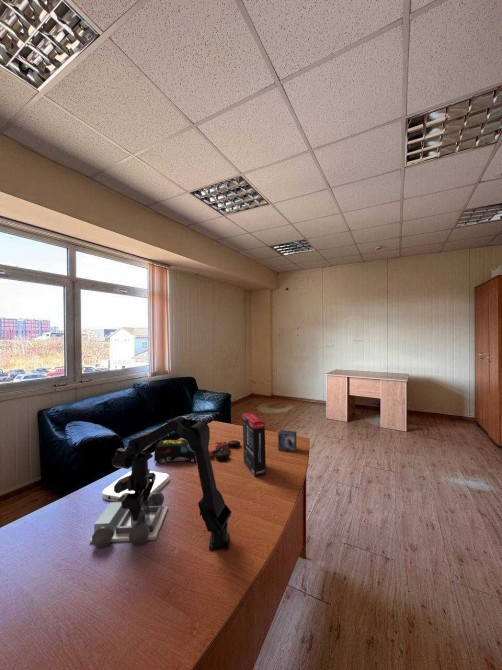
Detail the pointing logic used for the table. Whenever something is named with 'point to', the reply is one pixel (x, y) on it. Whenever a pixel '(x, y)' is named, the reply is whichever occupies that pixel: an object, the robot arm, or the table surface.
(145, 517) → the dark grey cube
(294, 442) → the small box
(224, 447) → the toy motorcycle
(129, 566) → the table surface
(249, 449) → the graphics card box
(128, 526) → the toy car chassis
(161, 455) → the toy van
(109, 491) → the computer
